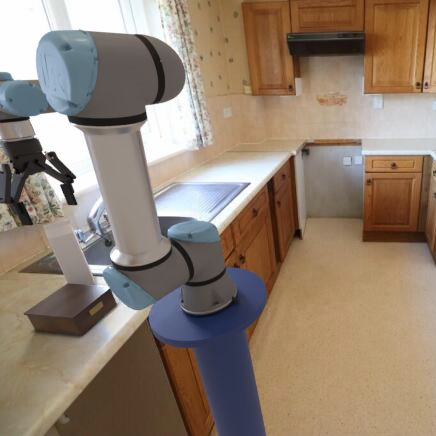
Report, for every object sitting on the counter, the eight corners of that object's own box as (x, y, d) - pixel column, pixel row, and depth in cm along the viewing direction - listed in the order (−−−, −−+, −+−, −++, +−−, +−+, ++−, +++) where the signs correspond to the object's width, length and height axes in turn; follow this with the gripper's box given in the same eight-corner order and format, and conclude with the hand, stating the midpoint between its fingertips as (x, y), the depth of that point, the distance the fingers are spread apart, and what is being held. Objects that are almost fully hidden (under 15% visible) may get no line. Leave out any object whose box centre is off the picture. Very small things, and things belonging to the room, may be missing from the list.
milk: (95, 285, 101) (69, 222, 91) (72, 293, 97) (42, 229, 88) (93, 277, 105) (68, 216, 96) (71, 284, 102) (42, 222, 92)
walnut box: (118, 303, 92) (111, 286, 90) (81, 336, 81) (72, 318, 78) (75, 299, 95) (67, 283, 92) (33, 331, 83) (23, 313, 81)
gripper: (51, 129, 94) (78, 197, 103) (-53, 149, 71) (-7, 234, 80) (73, 129, 92) (98, 198, 101) (-26, 150, 70) (17, 235, 79)
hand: (52, 214), depth 91 cm, fingers open, 13 cm apart
